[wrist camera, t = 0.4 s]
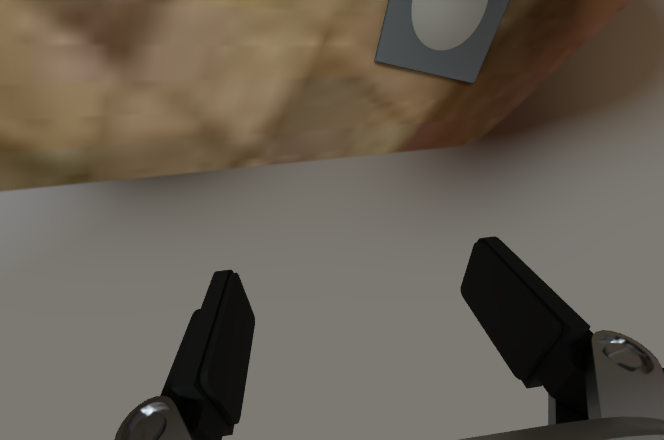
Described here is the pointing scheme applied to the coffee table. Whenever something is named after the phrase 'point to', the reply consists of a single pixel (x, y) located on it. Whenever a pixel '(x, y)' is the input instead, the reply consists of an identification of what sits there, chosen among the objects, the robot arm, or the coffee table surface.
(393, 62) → the mat
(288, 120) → the coffee table surface
